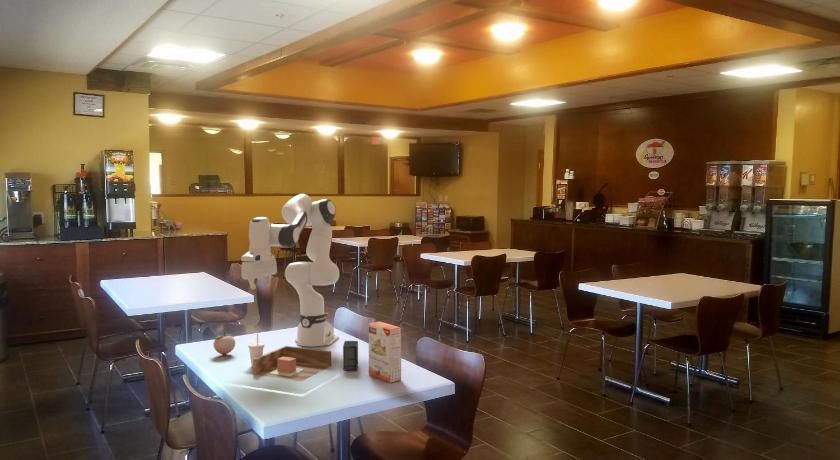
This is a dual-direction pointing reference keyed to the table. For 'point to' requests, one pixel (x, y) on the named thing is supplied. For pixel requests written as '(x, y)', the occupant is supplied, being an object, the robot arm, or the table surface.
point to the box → (350, 355)
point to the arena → (305, 360)
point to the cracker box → (385, 351)
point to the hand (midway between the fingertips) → (260, 287)
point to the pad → (286, 373)
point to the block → (286, 364)
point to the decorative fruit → (224, 344)
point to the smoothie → (255, 350)
